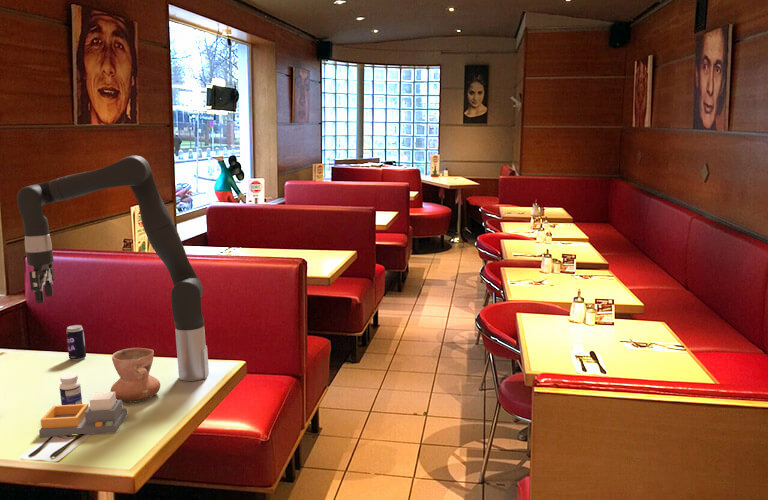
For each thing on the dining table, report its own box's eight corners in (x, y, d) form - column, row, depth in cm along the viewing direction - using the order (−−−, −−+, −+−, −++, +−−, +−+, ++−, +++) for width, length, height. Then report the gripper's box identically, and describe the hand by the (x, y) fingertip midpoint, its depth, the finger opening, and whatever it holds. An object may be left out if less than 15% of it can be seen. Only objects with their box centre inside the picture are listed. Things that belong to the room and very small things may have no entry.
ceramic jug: (169, 399, 215) (166, 354, 213) (121, 411, 207) (117, 364, 204) (149, 384, 229) (145, 341, 227) (103, 394, 221) (99, 350, 219)
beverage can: (72, 356, 257) (69, 324, 255) (88, 356, 258) (85, 324, 255) (66, 361, 252) (63, 329, 249) (83, 361, 252) (79, 328, 250)
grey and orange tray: (127, 414, 205) (125, 396, 204) (116, 432, 193) (114, 413, 192) (55, 418, 203) (53, 400, 202) (39, 437, 191) (37, 418, 190)
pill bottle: (61, 406, 212) (57, 374, 210) (81, 402, 215) (78, 371, 213) (62, 412, 207) (58, 380, 205) (83, 408, 210) (80, 377, 208)
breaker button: (116, 404, 200) (115, 391, 200) (111, 412, 195) (109, 399, 194) (96, 406, 200) (95, 392, 199) (90, 413, 195) (89, 400, 194)
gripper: (43, 252, 214) (49, 304, 217) (58, 244, 228) (64, 293, 231) (17, 253, 213) (24, 305, 216) (34, 245, 227) (40, 294, 230)
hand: (44, 299), depth 224 cm, fingers open, 8 cm apart
